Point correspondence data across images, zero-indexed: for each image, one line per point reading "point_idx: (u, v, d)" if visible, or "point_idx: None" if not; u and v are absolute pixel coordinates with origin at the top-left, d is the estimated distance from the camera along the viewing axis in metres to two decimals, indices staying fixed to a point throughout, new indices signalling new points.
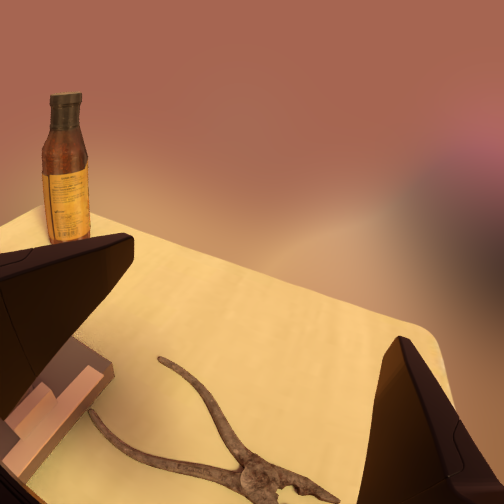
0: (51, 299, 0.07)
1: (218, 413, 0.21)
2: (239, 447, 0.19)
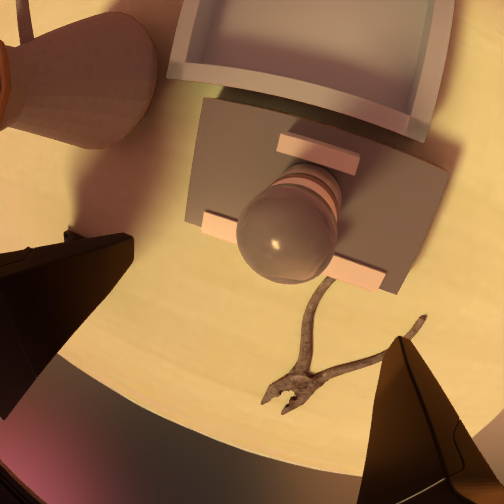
0: (51, 299, 0.07)
1: (360, 366, 0.25)
2: (328, 377, 0.27)
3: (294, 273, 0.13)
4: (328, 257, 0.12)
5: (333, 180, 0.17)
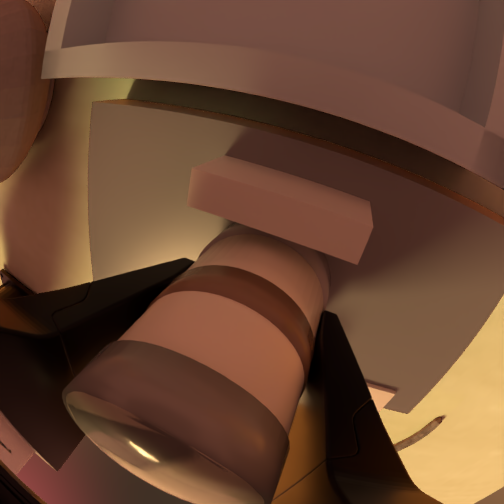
0: None
1: None
2: None
3: (194, 499, 0.05)
4: None
5: (312, 262, 0.08)
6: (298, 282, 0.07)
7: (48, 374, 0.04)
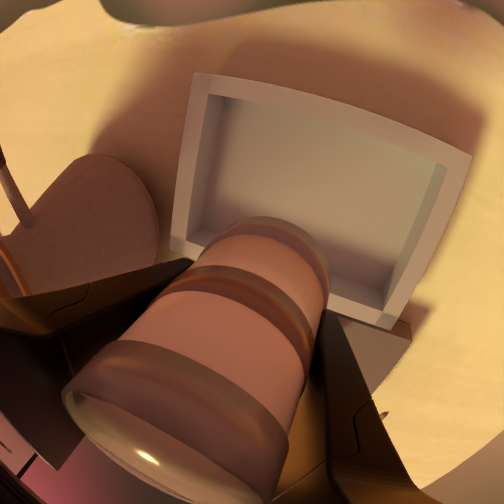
0: None
1: None
2: None
3: (193, 499, 0.05)
4: None
5: (312, 263, 0.08)
6: (298, 282, 0.07)
7: (48, 374, 0.04)
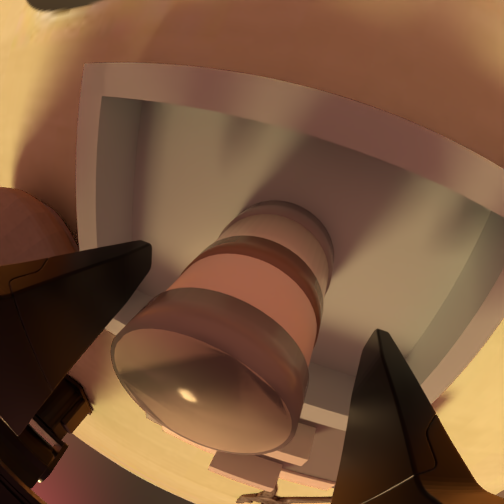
0: (69, 311, 0.07)
1: (319, 502, 0.22)
2: (292, 502, 0.24)
3: (223, 443, 0.06)
4: (281, 440, 0.05)
5: (319, 237, 0.10)
6: (308, 251, 0.09)
7: (3, 332, 0.05)
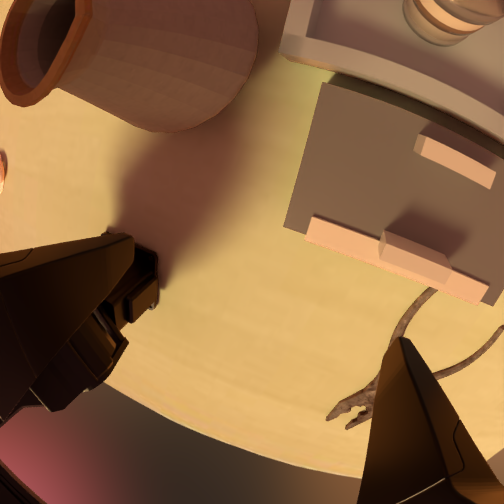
0: (51, 299, 0.07)
1: (438, 377, 0.22)
2: None
3: (485, 8, 0.06)
4: None
5: None
6: None
7: None
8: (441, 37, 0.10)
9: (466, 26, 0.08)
